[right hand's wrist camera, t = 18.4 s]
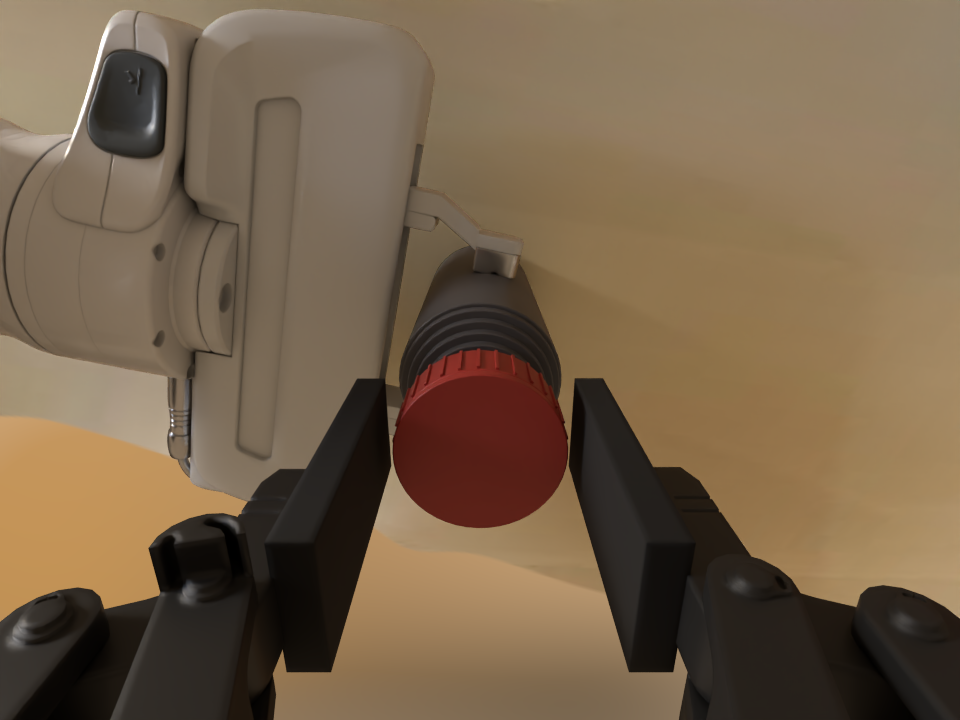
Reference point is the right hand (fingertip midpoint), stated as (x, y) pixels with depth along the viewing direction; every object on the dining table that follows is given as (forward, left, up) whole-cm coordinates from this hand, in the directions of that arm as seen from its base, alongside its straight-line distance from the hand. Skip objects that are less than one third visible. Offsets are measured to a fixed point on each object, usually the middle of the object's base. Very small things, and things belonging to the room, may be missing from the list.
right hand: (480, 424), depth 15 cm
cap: (0, 0, +1) cm, 1 cm away
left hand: (-1, 0, -9) cm, 9 cm away
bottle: (0, 0, -15) cm, 15 cm away
